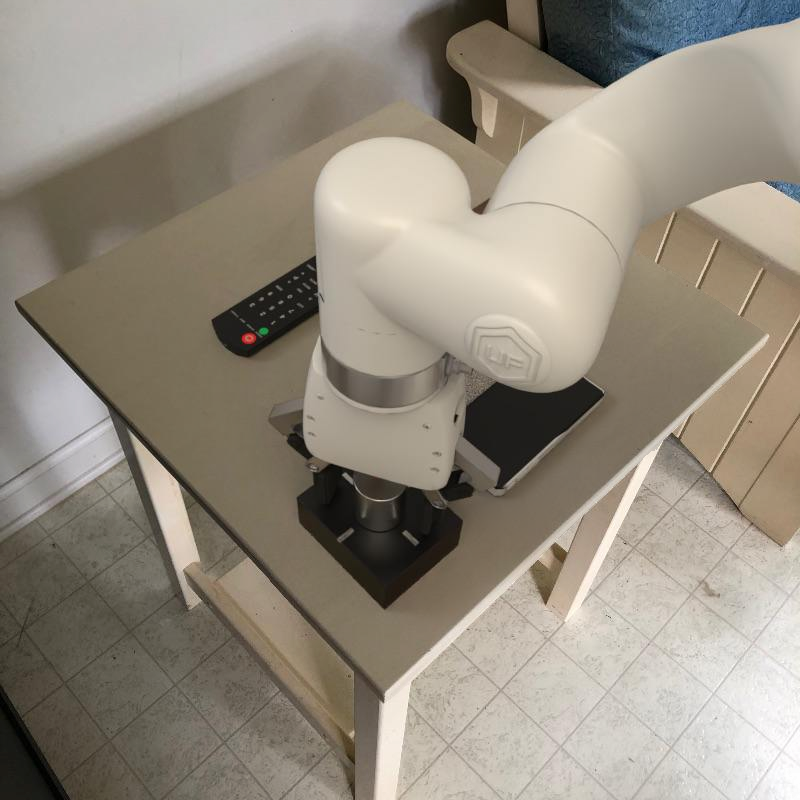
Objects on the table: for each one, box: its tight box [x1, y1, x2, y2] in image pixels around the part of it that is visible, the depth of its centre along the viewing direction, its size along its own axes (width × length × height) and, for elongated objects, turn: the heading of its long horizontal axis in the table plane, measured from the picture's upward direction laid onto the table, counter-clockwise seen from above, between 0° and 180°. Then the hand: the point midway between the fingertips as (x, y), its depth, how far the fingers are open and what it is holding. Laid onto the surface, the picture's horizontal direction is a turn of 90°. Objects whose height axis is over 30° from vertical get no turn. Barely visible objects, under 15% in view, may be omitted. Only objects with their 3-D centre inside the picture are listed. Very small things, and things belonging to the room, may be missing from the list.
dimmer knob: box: [353, 470, 408, 532], centre depth 60 cm, size 4×4×5 cm
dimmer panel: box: [296, 467, 464, 610], centre depth 64 cm, size 10×8×4 cm
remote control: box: [210, 254, 319, 357], centre depth 81 cm, size 5×24×1 cm, turn 135°
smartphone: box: [463, 375, 606, 497], centre depth 72 cm, size 8×1×15 cm
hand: (379, 502), depth 62 cm, fingers open, 7 cm apart
